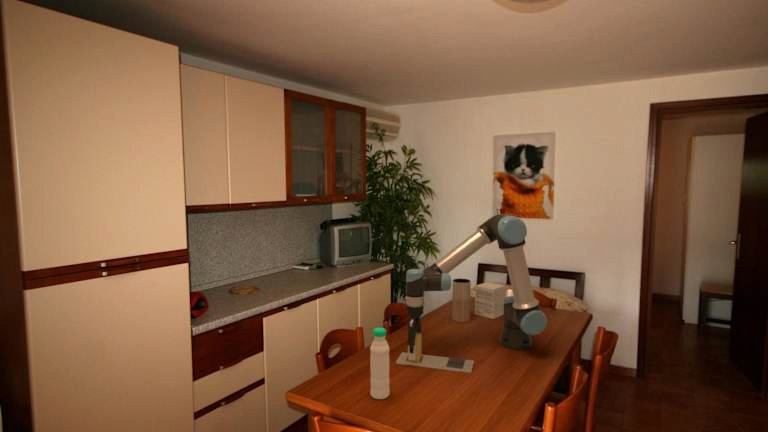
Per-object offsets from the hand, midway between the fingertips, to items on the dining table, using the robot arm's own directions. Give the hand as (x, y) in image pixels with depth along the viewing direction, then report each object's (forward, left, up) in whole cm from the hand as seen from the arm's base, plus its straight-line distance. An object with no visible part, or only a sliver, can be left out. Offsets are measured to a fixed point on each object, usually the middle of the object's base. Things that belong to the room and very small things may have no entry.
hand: (414, 355), depth 191 cm
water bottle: (+5, +34, -3) cm, 34 cm away
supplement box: (-27, -79, -3) cm, 84 cm away
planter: (-12, -64, -3) cm, 65 cm away
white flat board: (-9, 0, -2) cm, 9 cm away
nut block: (0, 0, -3) cm, 3 cm away
